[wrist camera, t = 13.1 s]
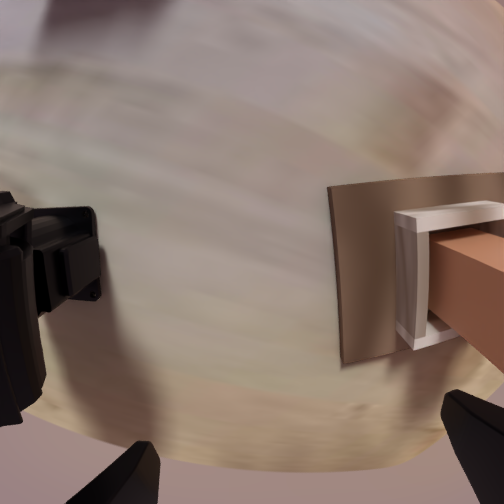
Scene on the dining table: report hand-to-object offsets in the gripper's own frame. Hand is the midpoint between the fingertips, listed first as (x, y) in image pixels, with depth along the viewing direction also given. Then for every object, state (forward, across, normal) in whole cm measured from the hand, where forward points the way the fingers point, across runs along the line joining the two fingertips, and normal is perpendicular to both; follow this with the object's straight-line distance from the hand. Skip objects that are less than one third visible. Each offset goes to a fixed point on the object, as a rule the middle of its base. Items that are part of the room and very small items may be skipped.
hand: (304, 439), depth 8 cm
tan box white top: (+12, -12, 0) cm, 17 cm away
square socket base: (+13, -12, 0) cm, 18 cm away
